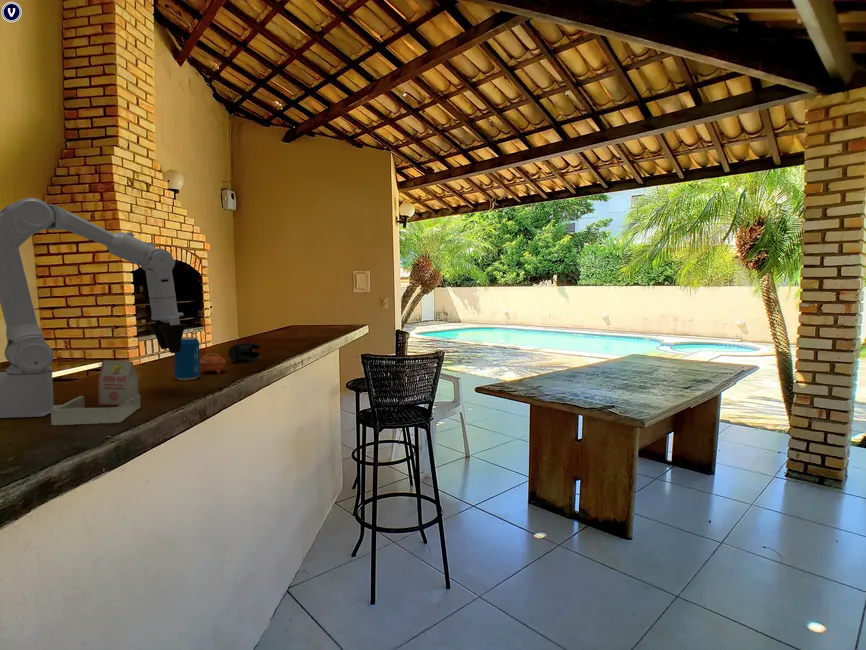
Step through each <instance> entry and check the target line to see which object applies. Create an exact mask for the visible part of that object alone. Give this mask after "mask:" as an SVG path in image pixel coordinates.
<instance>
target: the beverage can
mask: <svg viewBox="0 0 866 650" xmlns="http://www.w3.org/2000/svg"><path fill="white" fill-rule="evenodd" d="M173 354H174V359H173V360H174V378H176V379H177V381H193V380H197V379H198V378H199V377H200V376H201V375H200V374H201V372H200V341H199V340H198V337H194V336H186V337H185V336H182V340H181V349H180V352H176V353H173Z"/></svg>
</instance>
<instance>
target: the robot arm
mask: <svg viewBox="0 0 866 650" xmlns="http://www.w3.org/2000/svg"><path fill="white" fill-rule="evenodd" d="M43 230H46V231H68V232H70V233H72V234H75V235H77V236H80V237H83V238H86V239H88V240H91V241H93V242H96V243H97V244H101V245H103V246H106V248H107V250H108V252H109V254H110V255H113V256H115V257H118V258H119V259H122V260H124V261H126V262H129V263H132V264H133V265H136V266H140V267H141V269H142V270H143V271H145V277H146V285H147V291H148V299H149V306H150V310H151V316H150V318H151V320H152V321H154V322H149V323H148V324H147V325H148V327H149V328H150V329H151V330H152V332H153V334H154V335H155V337H156V338H155V339H156V340H157V343H158V345H159V348H160V349H161V350H166V349H167V350H168V351H169V354H174V353H176V352H180V349H181V340H182V337H183V334H184V332H185V329H186V323H181V322H180V317H183V316H184V313H183V312H179V311H178V305H177V303H178V302H177V297H176V291H175V290H176V289H175V281H174V276H173V269H174V268H175V265H176V259H175V258H174V257H173V255H172V254H171V252H169V251H168V250H166V249H165V248H156V247H155V244H154V243H153V242H148V243H147V242H146V241H143V240H141V239H138V238H136V237H135V234H134V233H133V232H123V231H118V232H116V233H113V232H110V230H107V229H105V228H103V227H101V226H98V225H97V224H95V223H93V222H91V221H89V220H86V219H85V218H82V217H81V216H79V215H77V214H74V213H72V212H70V211H68V210H67V209H64V208H62V207H60V206H57V205H56V204H52V203H46V202H45V201H43V200H41V199H40V198H36V197H25V198H21V199H19V200H17V201H15V202H12V203H10V204H8V205H7V206H6V207H4V208H3V209H1V210H0V307H1V312H2V316H3V320H4V323H5V327H6V328H5V336H6V342H7V343H6V346H5V348H4V356H5V359H6V360H7V361H8V362H9V363H10V365H9V366H7V368H6V369H5V371H0V419H11V418H12V419H13V418H14V419H15V418H35V417H36V418H41V417H42V418H43V417H45V416H47V415H49V414H51V410H53V409H55V408H57V407H59V406H61V405H62V404H54V387H53V386H54V385H53V366H50V365H51V364H52V362H53V360H54V357H55V356H54V354H55V353H54V350H53V349H52V347H51V346H50V345H49V344H48V343H47V342H46V341H45V338H44V334H43V331H42V330H41V328H40V327H39V324H38V321H37V315H36V313H35V309H34V304H33V301H32V297H31V292H30V289H29V285H28V280H27V277H26V273H25V269H24V265H23V261H22V257H21V252H20V247H21V246H22V245H23V244H24V243H25V242H26V241H27V240H28V239H30V237H31V236H33V235H34V234H37V233H39V232H42V231H43Z"/></svg>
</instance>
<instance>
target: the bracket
mask: <svg viewBox="0 0 866 650" xmlns="http://www.w3.org/2000/svg"><path fill="white" fill-rule="evenodd" d="M60 405H61V406H59V407H57V408H55V409H53V410H51V413H50V418H51V419H50V421H51V422H50V423H51V425H53V426H71V425H73V426H75V425H76V424H77V425H94V424H95V425H96V424H98V425H99V424H100V423H101V424H121V423H122V422H123V421H124V420H126V419H127V418H128V417H129V416H131V415H133V414H134V413H136V411H138V410H139V409H140V408H141V393H140V394H139V393H138V394H136V395H135V396H133V397H131V398H130V399H128V400H127V401H125V402H124V403H122V404H121V405H119V406H110V407H106V406H105V407H85V395H79V396H78V397H75V398H72V399H71V400H69V401H67V402H65V403H63V404H60ZM137 409H138V410H137Z"/></svg>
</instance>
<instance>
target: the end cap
mask: <svg viewBox="0 0 866 650" xmlns="http://www.w3.org/2000/svg"><path fill="white" fill-rule="evenodd" d="M253 350H260V344H259V343H250V341H247V342H242V343H239V344H234V345H232V346H230V348H229V349H228V350H227V351H228V358H229V359H230V361H232V362H233V363H234V364H237V365H250V364H252V362H253V363H255V361H256V362H258V360H259V361H260V357H261V356H260V355H261V354H260V352H259V351H253ZM249 363H250V364H249Z"/></svg>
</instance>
